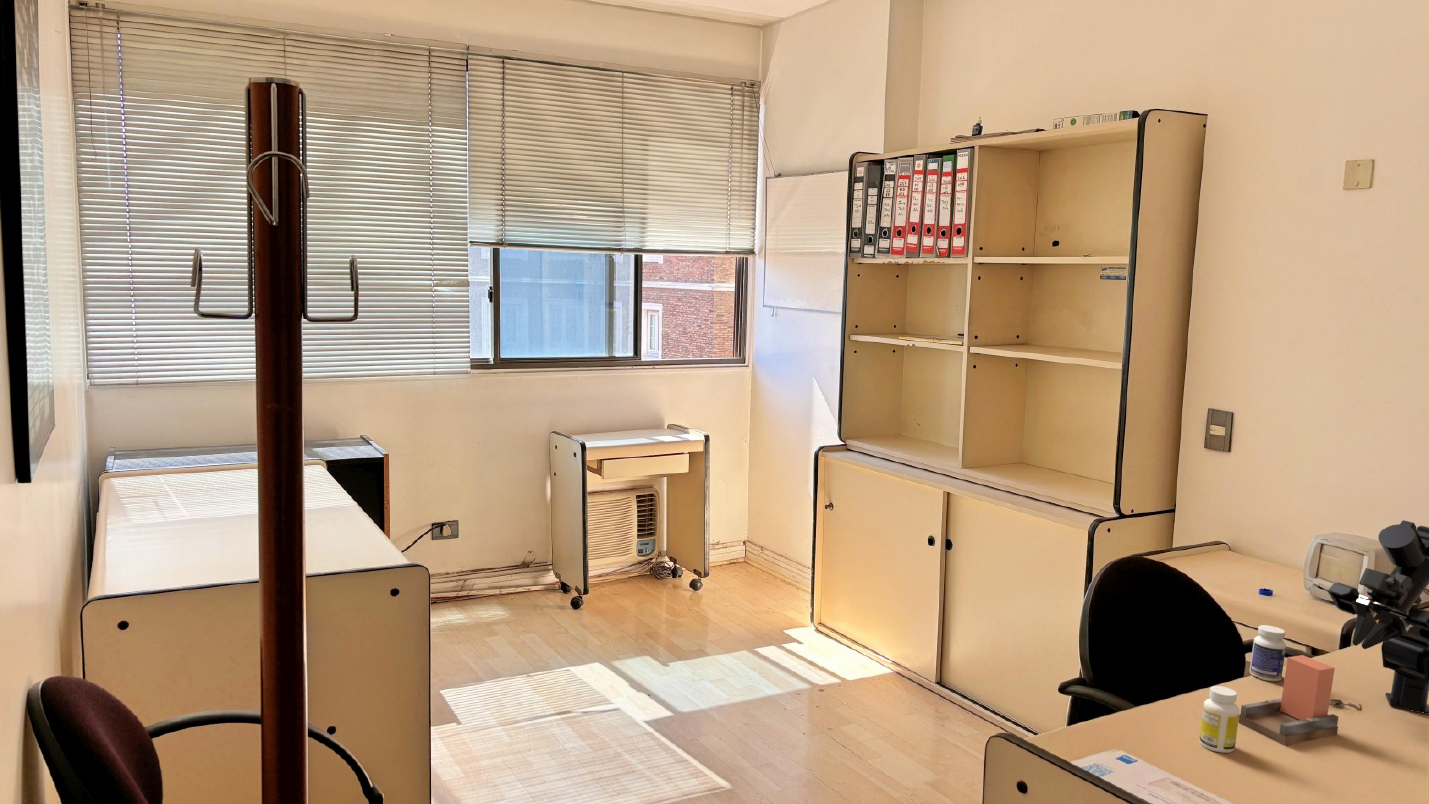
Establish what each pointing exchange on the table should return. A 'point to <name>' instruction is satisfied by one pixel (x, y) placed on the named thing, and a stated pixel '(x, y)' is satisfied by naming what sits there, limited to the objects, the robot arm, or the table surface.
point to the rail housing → (1285, 723)
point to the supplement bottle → (1220, 720)
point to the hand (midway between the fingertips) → (1358, 645)
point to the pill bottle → (1268, 653)
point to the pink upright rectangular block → (1306, 688)
